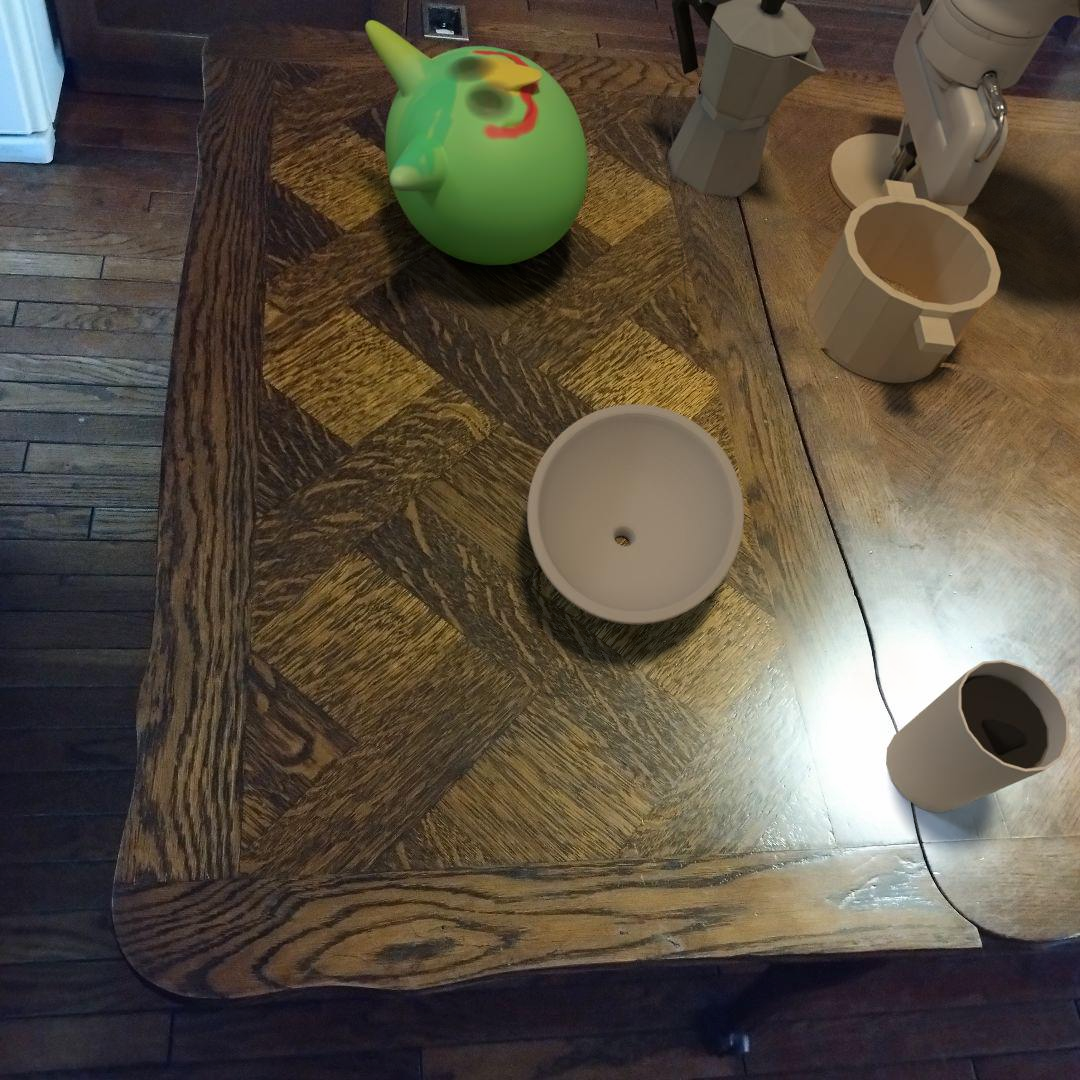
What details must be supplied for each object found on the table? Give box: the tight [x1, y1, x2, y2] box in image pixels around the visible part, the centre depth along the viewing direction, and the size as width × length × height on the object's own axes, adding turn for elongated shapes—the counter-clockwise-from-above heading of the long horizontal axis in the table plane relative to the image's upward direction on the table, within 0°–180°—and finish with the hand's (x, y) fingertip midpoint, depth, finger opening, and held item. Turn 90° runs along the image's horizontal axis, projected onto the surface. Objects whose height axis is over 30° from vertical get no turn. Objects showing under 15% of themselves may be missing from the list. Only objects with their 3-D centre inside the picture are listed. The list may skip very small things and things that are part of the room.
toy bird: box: [364, 19, 589, 266], centre depth 77 cm, size 18×17×15 cm
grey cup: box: [885, 659, 1071, 813], centre depth 60 cm, size 7×7×10 cm
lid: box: [828, 133, 970, 219], centre depth 92 cm, size 14×14×5 cm
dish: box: [526, 403, 745, 625], centre depth 67 cm, size 18×14×5 cm
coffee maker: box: [666, 0, 827, 198], centre depth 84 cm, size 15×9×18 cm, turn 49°
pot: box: [805, 180, 1002, 384], centre depth 81 cm, size 13×18×8 cm
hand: (903, 176), depth 93 cm, fingers closed on lid, 2 cm apart
